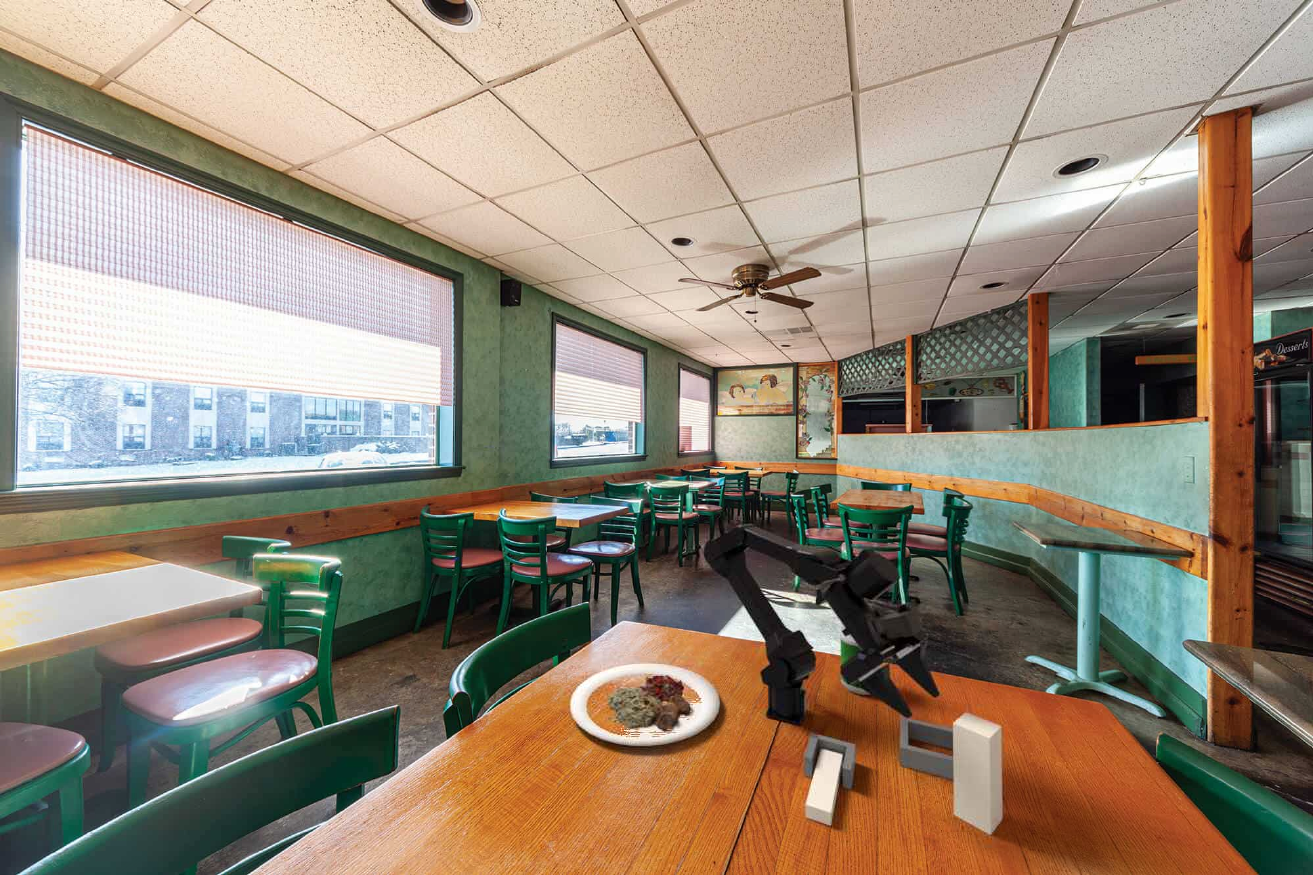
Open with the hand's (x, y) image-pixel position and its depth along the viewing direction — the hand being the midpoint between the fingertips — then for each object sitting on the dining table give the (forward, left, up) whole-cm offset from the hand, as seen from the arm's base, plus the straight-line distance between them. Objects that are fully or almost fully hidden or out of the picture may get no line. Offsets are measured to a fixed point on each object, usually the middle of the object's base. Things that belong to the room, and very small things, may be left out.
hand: (924, 706), depth 74 cm
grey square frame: (+2, +9, -12) cm, 15 cm away
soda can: (-12, +28, -13) cm, 33 cm away
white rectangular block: (+7, -3, -12) cm, 14 cm away
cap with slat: (-14, -6, -12) cm, 20 cm away
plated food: (-50, +1, -13) cm, 51 cm away
